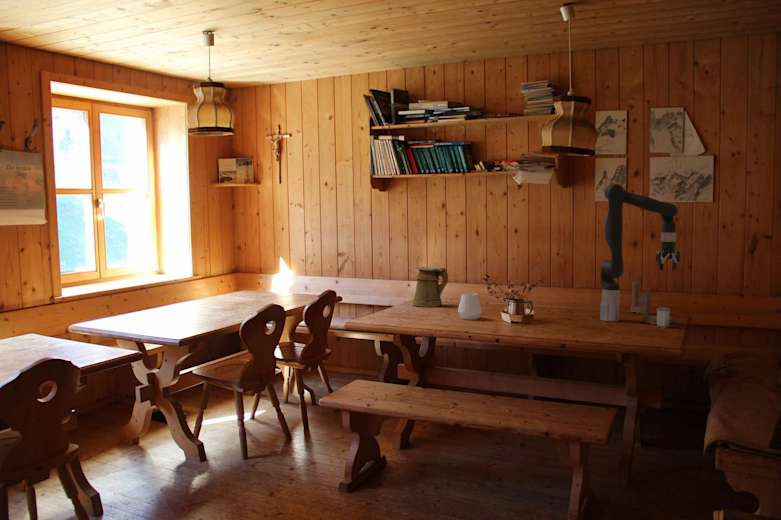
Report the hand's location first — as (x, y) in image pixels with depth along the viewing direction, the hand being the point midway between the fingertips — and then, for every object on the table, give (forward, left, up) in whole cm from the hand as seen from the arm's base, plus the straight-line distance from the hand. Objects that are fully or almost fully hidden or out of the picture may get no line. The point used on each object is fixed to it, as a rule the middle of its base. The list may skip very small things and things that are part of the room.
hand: (667, 270), depth 373 cm
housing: (-16, -16, -28) cm, 36 cm away
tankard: (-99, +100, -28) cm, 144 cm away
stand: (-9, -5, -28) cm, 30 cm away
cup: (-98, +46, -28) cm, 112 cm away
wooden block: (+4, +26, -28) cm, 39 cm away
